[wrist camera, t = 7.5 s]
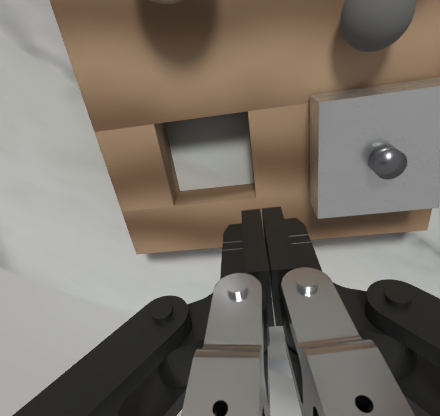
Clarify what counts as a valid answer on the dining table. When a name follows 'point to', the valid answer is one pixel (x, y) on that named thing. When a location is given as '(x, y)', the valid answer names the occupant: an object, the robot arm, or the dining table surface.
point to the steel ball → (167, 1)
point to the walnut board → (227, 103)
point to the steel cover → (375, 149)
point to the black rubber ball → (375, 22)
